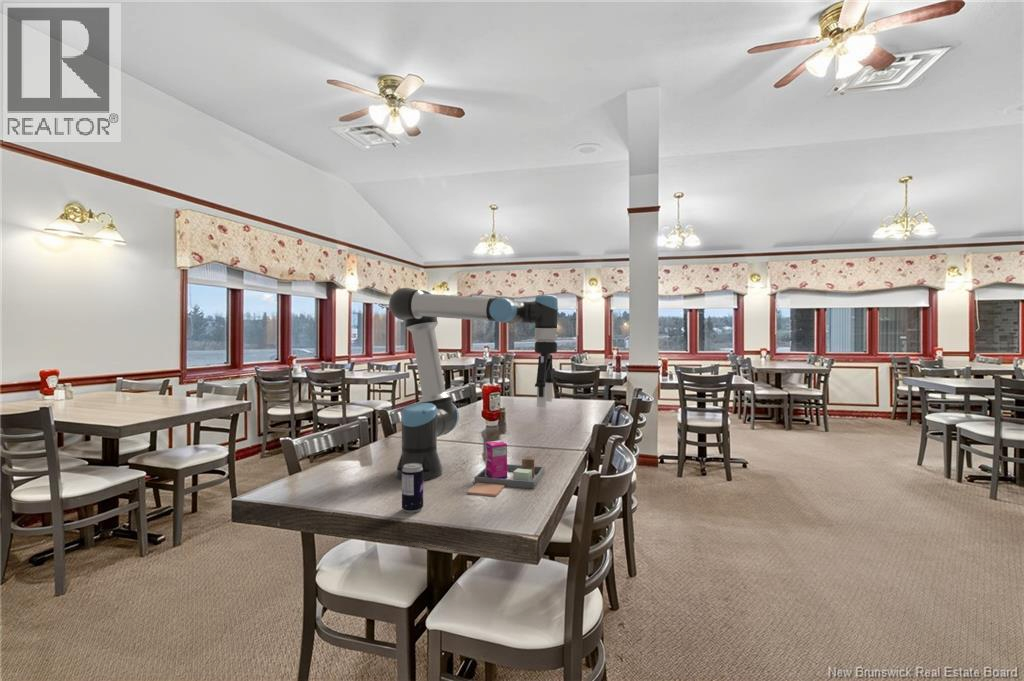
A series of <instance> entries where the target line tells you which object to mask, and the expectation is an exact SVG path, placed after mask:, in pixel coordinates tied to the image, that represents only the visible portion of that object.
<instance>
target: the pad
mask: <svg viewBox="0 0 1024 681" xmlns="http://www.w3.org/2000/svg"><path fill="white" fill-rule="evenodd" d="M505 487H506V486H505V485H498V484H486V483H476V484H474V485H473V486H472V487H471V488H470V489H468V491H466V494H467V495H475V496H486V497H497V496H498V495H499V494H500V493H501V492H502V490H504V489H505Z"/></svg>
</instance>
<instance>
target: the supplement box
mask: <svg viewBox="0 0 1024 681" xmlns="http://www.w3.org/2000/svg"><path fill="white" fill-rule="evenodd" d="M484 448H485V454H484V455H485V468H486V475H485V477H487V478H498V479H508V471H507V464H508V444H507V443H506V442H504V441H502V440H501V439H498V440H492V441H485V445H484Z"/></svg>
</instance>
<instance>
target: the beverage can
mask: <svg viewBox="0 0 1024 681" xmlns="http://www.w3.org/2000/svg"><path fill="white" fill-rule="evenodd" d="M423 507H424V480H423V468H422V464H419V463H409V464H405V465H404V466H403V469H402V479H401V508H402V510H403V511H404V512H405V513H408V514H409V513H410V514H411V513H412V514H414V513H418V512H420V511H421V510H422V508H423Z"/></svg>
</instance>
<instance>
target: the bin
mask: <svg viewBox="0 0 1024 681" xmlns="http://www.w3.org/2000/svg"><path fill="white" fill-rule="evenodd" d="M517 468H519V469H522V464H509V463H507V472H508V471H511V472H514V471H515V470H516V469H517ZM545 468H546V467H545V466H538V465H534V474H535V473H537V474H536V476H534V478H533V479H532V481H524V480H513V479H511V478H510V479H509V478H503V479H498V478H489V477H487V476H486V467H484V468H483V469H482V470H480V471H479V473H477V475H475V476H474V479H473V482H474V485H475V484H476V483H486V484H498V485H505V487H512V488H522V489H524V488H525V489H536V487H537V485H538V484H539V482H540V480H541V479H542V477H543V476H544V475H545V472H546V470H545Z"/></svg>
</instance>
